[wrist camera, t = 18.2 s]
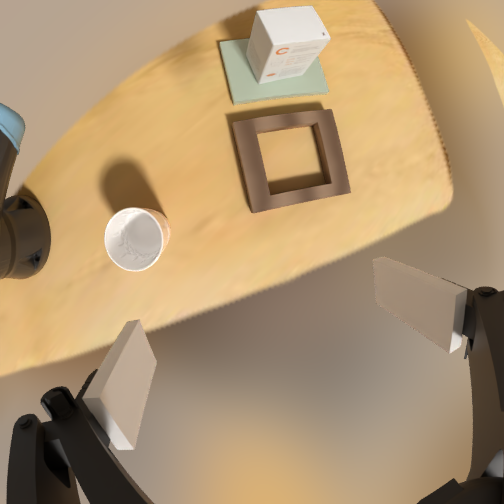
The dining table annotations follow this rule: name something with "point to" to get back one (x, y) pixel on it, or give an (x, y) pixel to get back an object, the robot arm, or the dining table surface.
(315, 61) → the board
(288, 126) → the walnut holder
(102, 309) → the dining table surface
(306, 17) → the small box
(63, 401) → the robot arm
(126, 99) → the dining table surface
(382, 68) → the dining table surface
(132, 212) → the white cup
